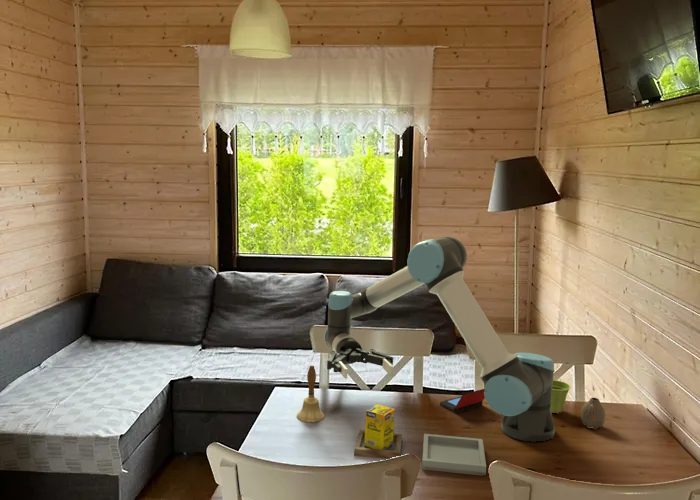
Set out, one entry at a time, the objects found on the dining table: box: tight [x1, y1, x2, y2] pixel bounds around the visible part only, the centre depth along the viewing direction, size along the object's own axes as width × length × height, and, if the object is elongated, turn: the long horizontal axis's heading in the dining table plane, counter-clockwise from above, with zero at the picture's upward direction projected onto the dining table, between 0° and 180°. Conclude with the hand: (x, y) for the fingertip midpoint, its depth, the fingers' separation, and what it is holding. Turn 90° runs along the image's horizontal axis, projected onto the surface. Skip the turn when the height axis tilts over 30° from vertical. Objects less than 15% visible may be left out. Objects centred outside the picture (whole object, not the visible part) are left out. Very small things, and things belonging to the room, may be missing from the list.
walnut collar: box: [353, 429, 403, 460], centre depth 181 cm, size 12×12×2 cm
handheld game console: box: [439, 388, 485, 413], centre depth 212 cm, size 12×11×7 cm
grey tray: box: [421, 433, 487, 476], centre depth 177 cm, size 16×16×2 cm
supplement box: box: [363, 403, 396, 450], centre depth 180 cm, size 6×6×11 cm
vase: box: [580, 397, 606, 429], centre depth 200 cm, size 7×7×9 cm
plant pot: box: [550, 379, 571, 412], centre depth 211 cm, size 9×9×9 cm
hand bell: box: [296, 365, 325, 423], centre depth 198 cm, size 8×8×16 cm
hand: (369, 372), depth 188 cm, fingers open, 13 cm apart
